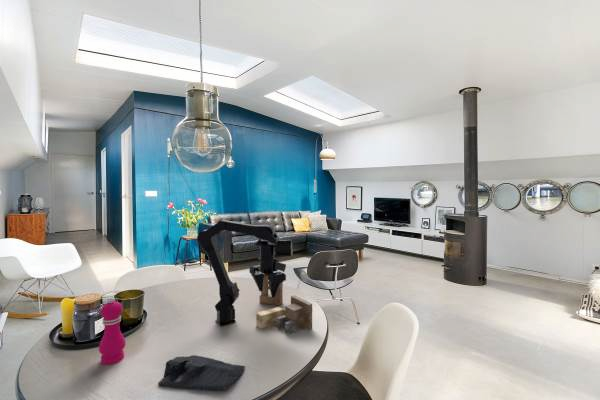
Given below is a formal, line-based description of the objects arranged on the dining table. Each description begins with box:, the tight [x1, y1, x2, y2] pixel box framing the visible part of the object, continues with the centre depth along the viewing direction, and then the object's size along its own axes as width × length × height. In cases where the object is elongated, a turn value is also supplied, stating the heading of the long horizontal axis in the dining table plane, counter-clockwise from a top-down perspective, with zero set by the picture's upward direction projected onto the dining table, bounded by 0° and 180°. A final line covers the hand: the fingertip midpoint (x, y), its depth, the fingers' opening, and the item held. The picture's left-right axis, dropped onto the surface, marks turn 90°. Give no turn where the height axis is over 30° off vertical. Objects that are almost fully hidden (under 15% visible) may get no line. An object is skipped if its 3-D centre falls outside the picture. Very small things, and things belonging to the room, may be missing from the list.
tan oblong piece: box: [255, 306, 285, 329], centre depth 122 cm, size 14×4×5 cm, turn 128°
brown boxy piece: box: [276, 295, 313, 335], centre depth 118 cm, size 10×12×10 cm
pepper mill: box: [98, 297, 126, 366], centre depth 95 cm, size 7×7×20 cm
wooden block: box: [259, 275, 284, 307], centre depth 143 cm, size 4×11×18 cm, turn 71°
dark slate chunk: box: [158, 354, 246, 391], centre depth 87 cm, size 15×22×5 cm
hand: (266, 294), depth 121 cm, fingers open, 9 cm apart
